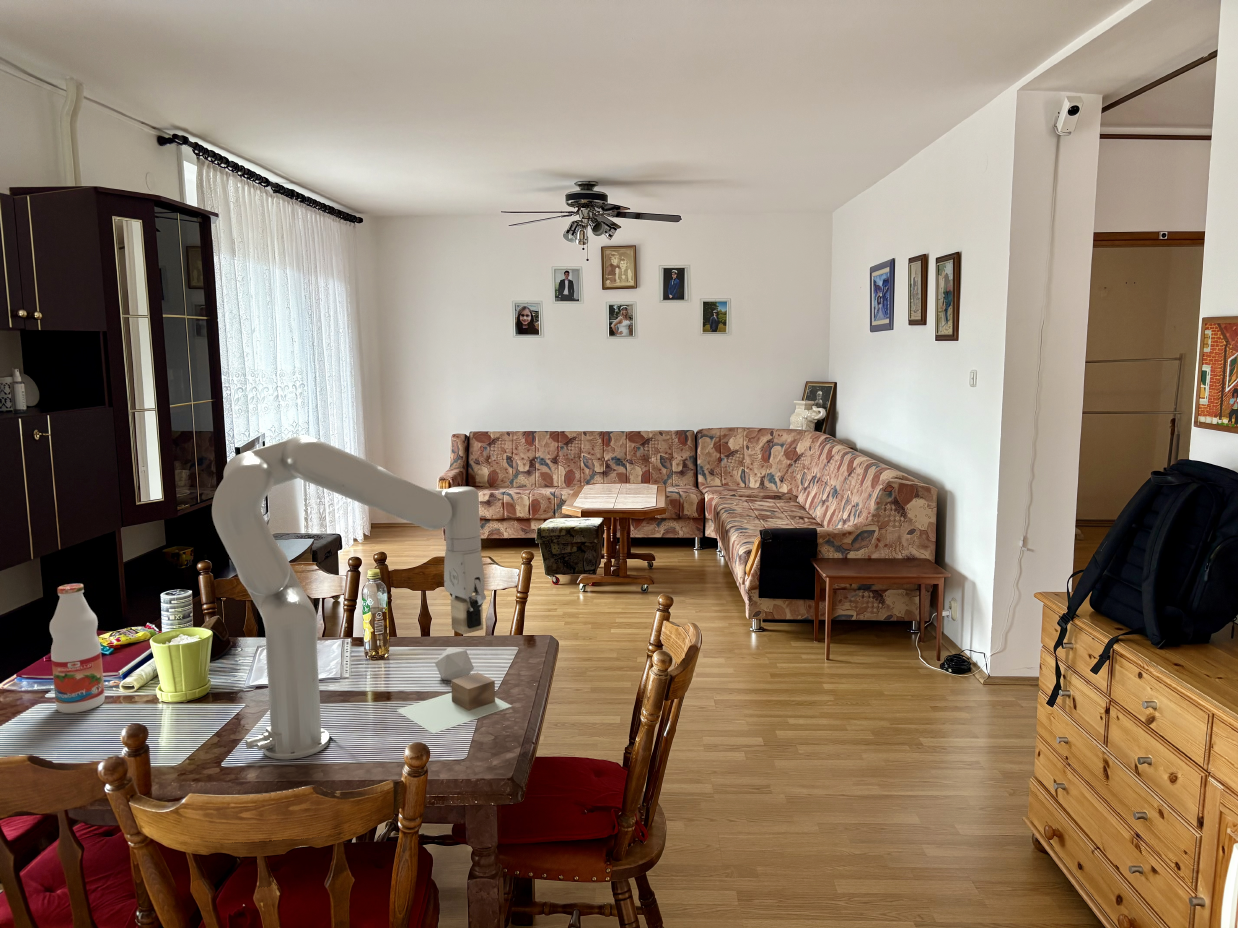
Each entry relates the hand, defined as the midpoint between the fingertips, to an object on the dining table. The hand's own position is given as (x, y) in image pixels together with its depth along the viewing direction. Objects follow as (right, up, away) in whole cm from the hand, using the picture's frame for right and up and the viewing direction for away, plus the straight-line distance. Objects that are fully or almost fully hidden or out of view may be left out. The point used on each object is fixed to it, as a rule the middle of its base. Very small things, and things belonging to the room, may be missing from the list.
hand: (467, 623), depth 183 cm
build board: (-3, -20, +1) cm, 20 cm away
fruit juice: (-89, -20, +6) cm, 92 cm away
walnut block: (+1, -19, +4) cm, 19 cm away
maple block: (0, -1, 0) cm, 1 cm away
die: (-7, -18, +20) cm, 27 cm away
